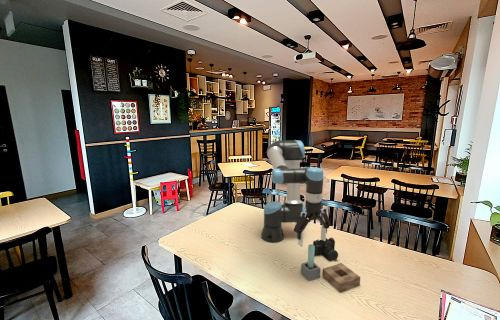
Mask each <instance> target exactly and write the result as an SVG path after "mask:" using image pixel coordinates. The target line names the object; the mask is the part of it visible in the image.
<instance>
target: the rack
mask: <svg viewBox="0 0 500 320" xmlns="http://www.w3.org/2000/svg"><path fill="white" fill-rule="evenodd" d="M321 274H322V278H323V279H325V281H327V283H329V284H330V285H331V286H332V287H333V288H334V289H335V290H337V291H338V292H339V294H341V293H343V292H346V291H349V290H351V289H353V288H357V287H359V286H360V285H361V276H360V275H358V274H357V273H356V272H354V271H353V270H352V269H350V268H349V267H348V266H346V265H345V264H343V262H340V263H337V264H333V265H330V266H327V267H324V268H322V273H321Z"/></svg>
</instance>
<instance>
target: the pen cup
mask: <svg viewBox="0 0 500 320" xmlns="http://www.w3.org/2000/svg"><path fill="white" fill-rule="evenodd" d="M300 274H301V275H302V276H303V277H304V278H305V279H306V280H307V281H308V282H311V281H314V280H317V279H320V278H321V267H320V266H319V265H318V264H316V263H315V262H314V269H311V270H309V269H308V261H306V262H304V263H301V264H300Z"/></svg>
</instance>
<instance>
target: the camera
mask: <svg viewBox="0 0 500 320" xmlns="http://www.w3.org/2000/svg"><path fill="white" fill-rule="evenodd" d="M312 245H314V246H315V253H314V257H318V256H323V257H326V258H327V260H329V261H331V262H333V261H336V260H337V259H338V258H339V253H338V251H337V250H336V249H335V248H336V247H335V246H336V240H335V239H334V237H329V238H327V237H326V241H324V240H322V239H316V240H313V242H312Z"/></svg>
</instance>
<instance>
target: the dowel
mask: <svg viewBox="0 0 500 320" xmlns="http://www.w3.org/2000/svg"><path fill="white" fill-rule="evenodd" d="M307 248H308V249H307V262H308V269H309V270H311V269H314V263H315V256H314V253H315V246H314V245H313V243H312V244H310V243H309V244H308V247H307Z"/></svg>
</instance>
